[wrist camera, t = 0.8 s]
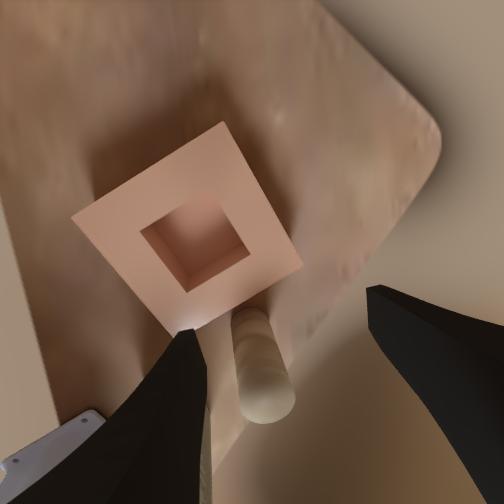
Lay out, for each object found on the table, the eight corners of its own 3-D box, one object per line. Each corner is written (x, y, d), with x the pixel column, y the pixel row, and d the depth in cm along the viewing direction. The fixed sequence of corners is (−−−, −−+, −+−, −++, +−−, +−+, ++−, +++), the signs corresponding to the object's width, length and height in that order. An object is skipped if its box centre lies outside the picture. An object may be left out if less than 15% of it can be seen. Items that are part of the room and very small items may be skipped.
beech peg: (243, 347, 24) (257, 432, 17) (223, 320, 23) (229, 398, 15) (275, 328, 24) (304, 405, 16) (256, 300, 23) (279, 369, 15)
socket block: (181, 314, 22) (176, 341, 19) (95, 206, 19) (70, 217, 16) (289, 249, 22) (304, 265, 18) (221, 127, 19) (223, 120, 15)
